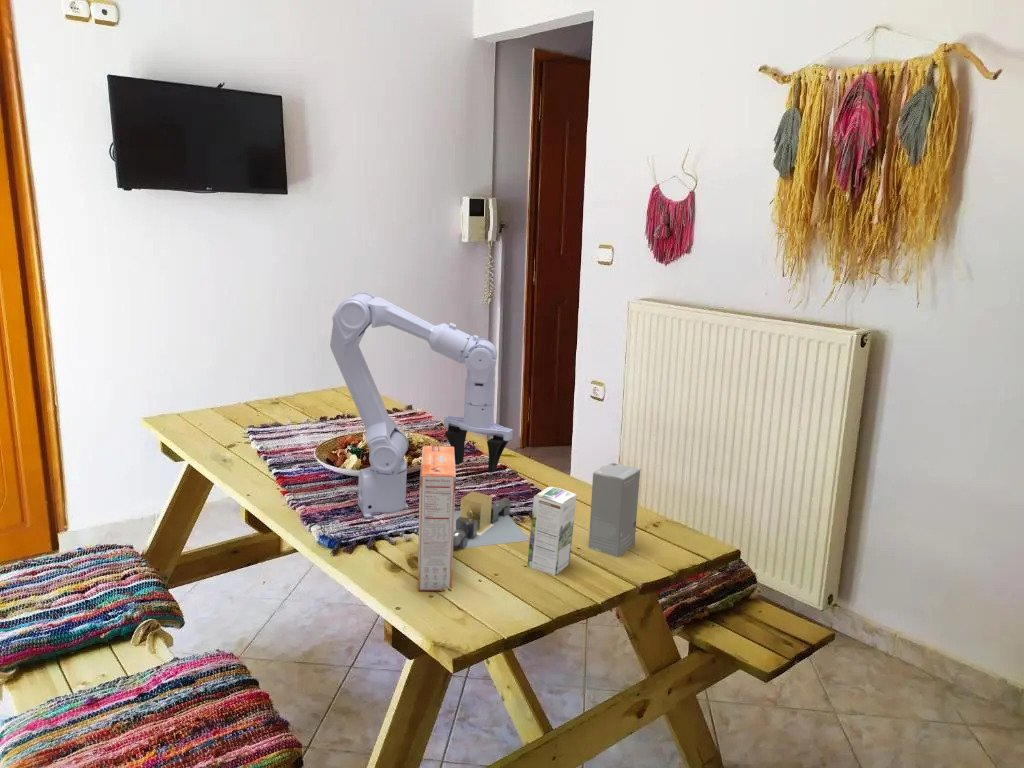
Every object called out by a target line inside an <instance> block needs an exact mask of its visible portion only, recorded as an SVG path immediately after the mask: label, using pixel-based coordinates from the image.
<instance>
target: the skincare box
mask: <svg viewBox="0 0 1024 768" xmlns="http://www.w3.org/2000/svg"><path fill="white" fill-rule="evenodd" d="M640 477H641V469H640V468H638V467H637V468H636V467H632V466H627V465H624V464H619V463H613V462H611V463H608V464H606V465H603V466H601V467H600V468H599V469H598V470H595V471H593V473H592V483H591V485H592V487H591V501H590V503H591V504H590V515H589V516H590V520H589V534H588V538H589V539H588V549H591V550H594V551H596V552H600V553H603V554H606V555H610V556H612V557H616V558H620V557H621V556H622V555H624V553H626V552H627V551H628V550H629V549H631V547H632V546H633V547H634V546H635V542H636V529H637V528H636V527H637V517H638V516H637V515H638V504H639V503H638V502H639V492H640V489H639V488H640V479H641V478H640Z"/></svg>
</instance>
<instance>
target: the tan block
mask: <svg viewBox="0 0 1024 768" xmlns="http://www.w3.org/2000/svg"><path fill="white" fill-rule="evenodd" d="M492 502H493V496H492V495H487V494H484V493H480V492H477V491H473V490H472V491H469V493H467V494H465V495H464V496H462V497H461V498H460V508H459V509H460V510H459V511H460V517H464V518H469V519H473V520H477V532H478V533H480V532H481V531H483V530H484V529H485V528H487V527H488V526H489V525H490V521H491V505H492V504H493V503H492Z"/></svg>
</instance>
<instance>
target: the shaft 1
mask: <svg viewBox="0 0 1024 768" xmlns="http://www.w3.org/2000/svg"><path fill="white" fill-rule="evenodd" d="M476 536H477V520H473V519H469V518H464V517H459V518H458V519H457V520H456V531H455V532H454V536H453V548H459V549H460V550H464V549H466V548H465V546H466V545H467V538H468V539H472V540H473V539H474V538H475V537H476Z"/></svg>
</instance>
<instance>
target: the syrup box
mask: <svg viewBox="0 0 1024 768" xmlns="http://www.w3.org/2000/svg"><path fill="white" fill-rule="evenodd" d="M577 498H578V494H576V493H575V492H572V491H569V490H566V489H563V488H560V487H555V486H547V487H546V488H544V489H543V490H542V491H540V492H538V493H537V494H535V495H533V502H532V511H531V512H532V514H531V522H530V523H531V524H530V534H529V535H530V536H529V539H530V541H529V544H528V545H529V546H528V553H527V554H528V556H527V565H526V567H528V568H531V569H533V570H536V571H538V572H543V573H545V574H549V575H552V576H557V575H558V574H559V573H561V572H562V571H563V570H564V569H565V568H566V567H567V566H569V565H570V563H571V562H570V561H571V552H572V543H573V535H574V534H573V533H574V527H575V526H574V525H575V516H576V515H575V514H576V507H577V506H576V504H577Z"/></svg>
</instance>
